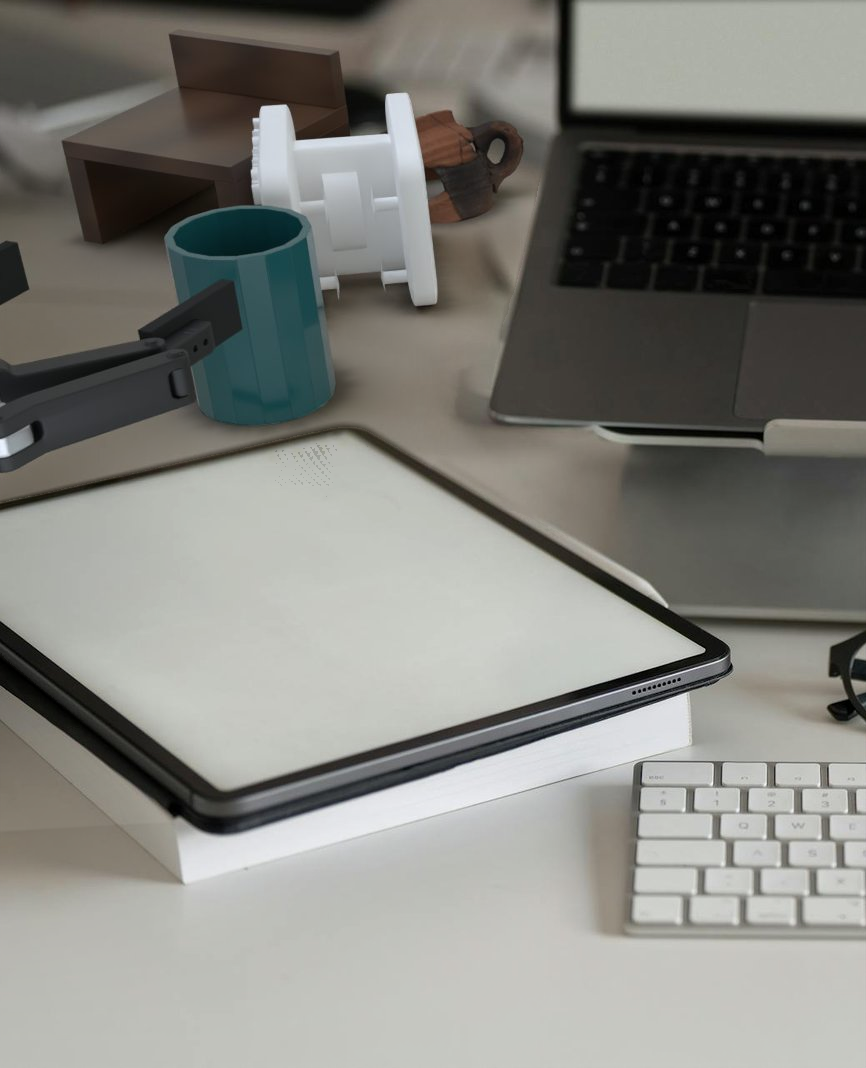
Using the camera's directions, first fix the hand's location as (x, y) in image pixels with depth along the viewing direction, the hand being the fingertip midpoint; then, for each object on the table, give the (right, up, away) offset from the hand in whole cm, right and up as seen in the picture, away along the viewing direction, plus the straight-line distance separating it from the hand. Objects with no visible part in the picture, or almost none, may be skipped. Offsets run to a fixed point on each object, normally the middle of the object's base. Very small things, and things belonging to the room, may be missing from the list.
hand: (123, 283), depth 89 cm
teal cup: (+3, -5, +14) cm, 15 cm away
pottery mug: (+9, +12, +41) cm, 44 cm away
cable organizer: (+5, +4, +28) cm, 29 cm away
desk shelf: (-7, +10, +37) cm, 39 cm away
